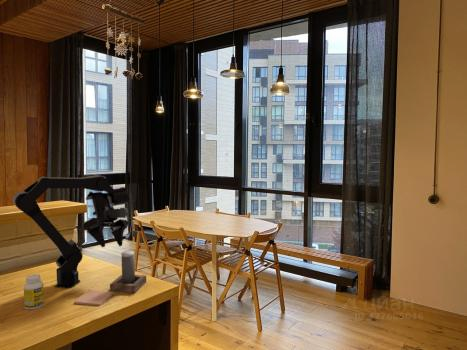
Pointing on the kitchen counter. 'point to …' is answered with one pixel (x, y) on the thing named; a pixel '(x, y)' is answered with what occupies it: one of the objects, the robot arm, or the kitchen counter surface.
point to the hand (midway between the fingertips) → (112, 246)
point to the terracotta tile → (94, 297)
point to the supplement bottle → (33, 292)
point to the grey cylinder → (128, 267)
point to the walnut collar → (130, 288)
